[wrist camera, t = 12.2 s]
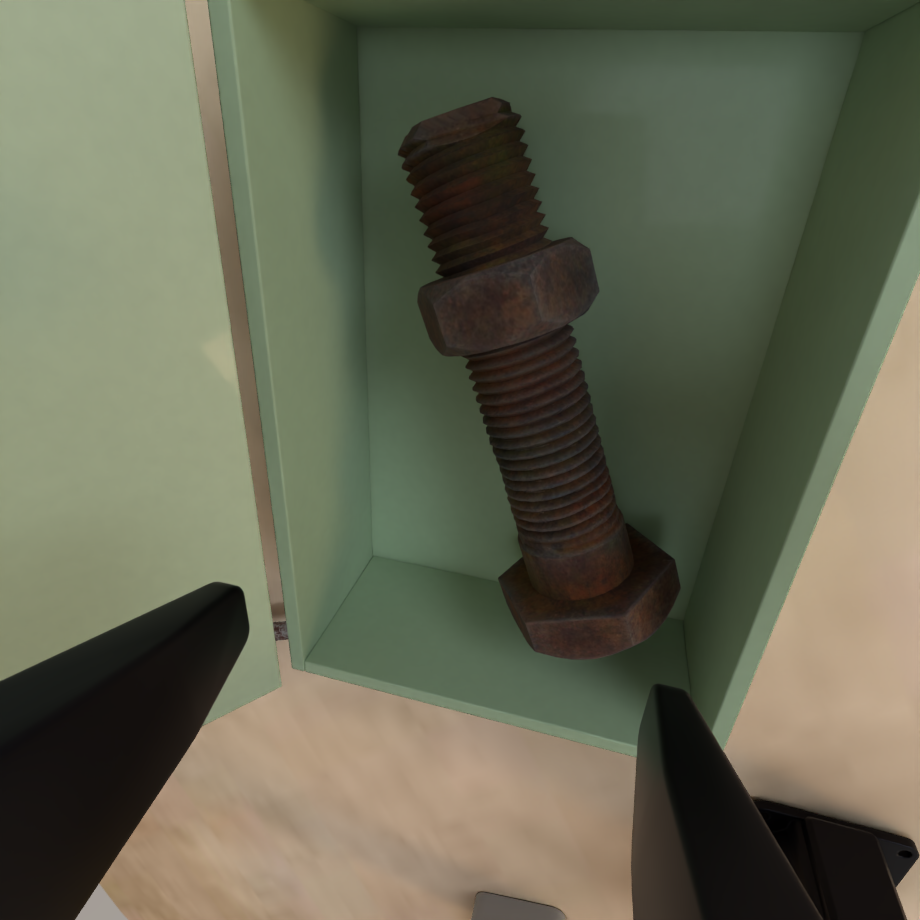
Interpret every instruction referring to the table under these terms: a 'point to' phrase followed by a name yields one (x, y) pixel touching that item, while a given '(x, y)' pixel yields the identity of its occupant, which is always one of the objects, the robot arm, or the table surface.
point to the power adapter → (511, 909)
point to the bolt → (531, 385)
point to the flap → (115, 341)
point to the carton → (597, 331)
